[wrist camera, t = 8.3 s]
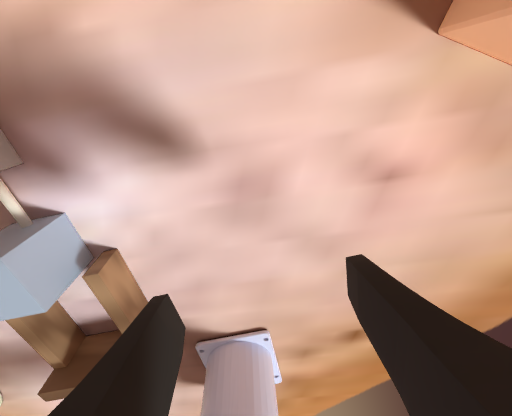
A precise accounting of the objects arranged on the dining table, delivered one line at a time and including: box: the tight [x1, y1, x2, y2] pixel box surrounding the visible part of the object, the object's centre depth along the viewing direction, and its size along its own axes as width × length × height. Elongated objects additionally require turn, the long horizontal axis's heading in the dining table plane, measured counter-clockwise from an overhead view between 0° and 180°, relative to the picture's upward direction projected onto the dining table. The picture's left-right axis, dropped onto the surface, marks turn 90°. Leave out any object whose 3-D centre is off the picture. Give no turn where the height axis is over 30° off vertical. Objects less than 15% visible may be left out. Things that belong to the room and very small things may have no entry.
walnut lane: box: [5, 249, 148, 401], centre depth 20 cm, size 10×9×5 cm
